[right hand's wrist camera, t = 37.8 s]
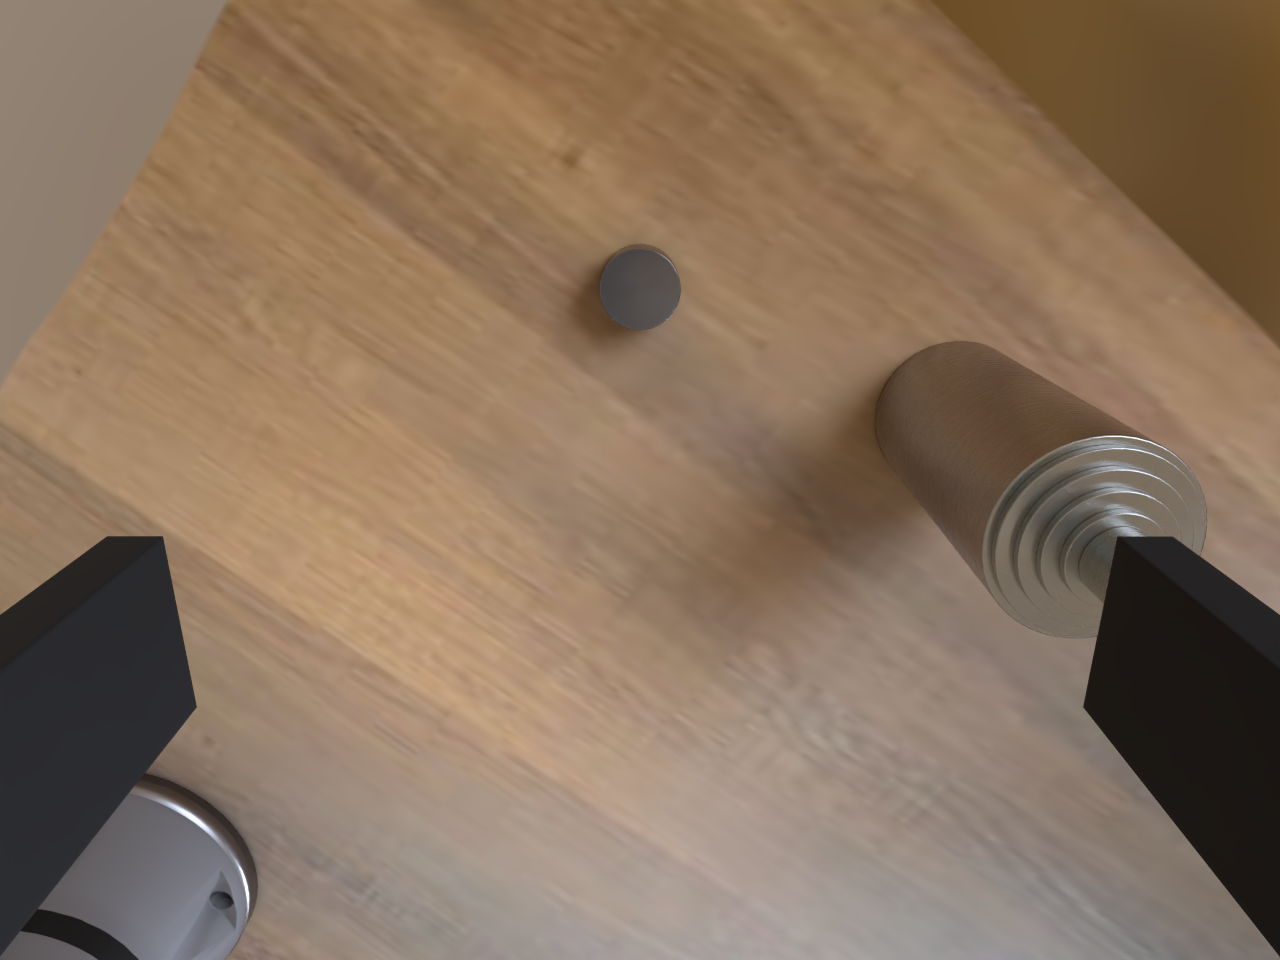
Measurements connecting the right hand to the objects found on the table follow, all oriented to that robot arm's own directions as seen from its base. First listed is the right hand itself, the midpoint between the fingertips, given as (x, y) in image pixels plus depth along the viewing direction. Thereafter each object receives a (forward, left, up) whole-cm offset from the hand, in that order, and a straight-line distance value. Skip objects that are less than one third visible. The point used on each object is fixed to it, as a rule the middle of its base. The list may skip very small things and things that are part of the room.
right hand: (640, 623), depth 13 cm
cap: (0, 0, -31) cm, 31 cm away
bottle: (+16, +6, -33) cm, 37 cm away
